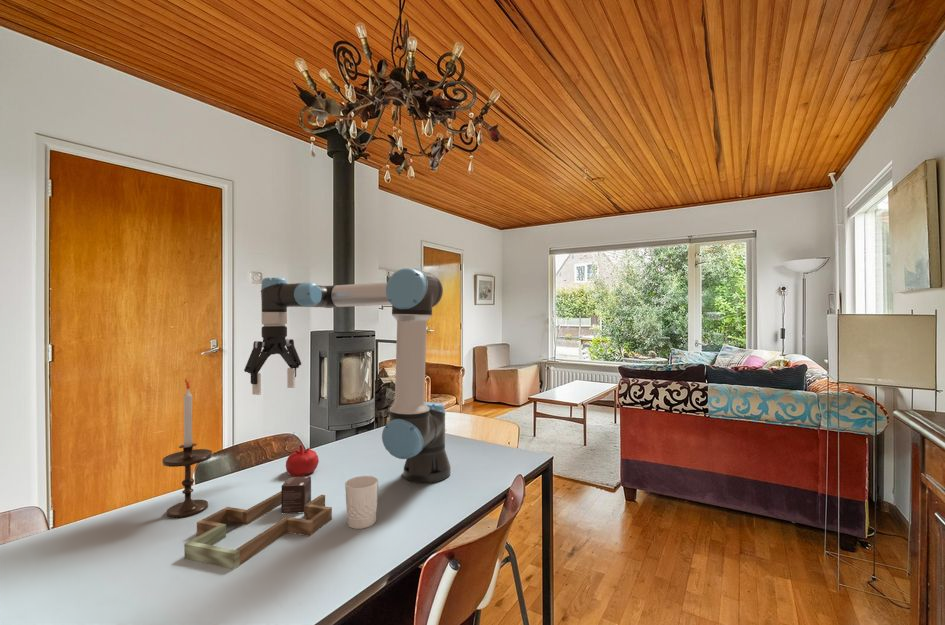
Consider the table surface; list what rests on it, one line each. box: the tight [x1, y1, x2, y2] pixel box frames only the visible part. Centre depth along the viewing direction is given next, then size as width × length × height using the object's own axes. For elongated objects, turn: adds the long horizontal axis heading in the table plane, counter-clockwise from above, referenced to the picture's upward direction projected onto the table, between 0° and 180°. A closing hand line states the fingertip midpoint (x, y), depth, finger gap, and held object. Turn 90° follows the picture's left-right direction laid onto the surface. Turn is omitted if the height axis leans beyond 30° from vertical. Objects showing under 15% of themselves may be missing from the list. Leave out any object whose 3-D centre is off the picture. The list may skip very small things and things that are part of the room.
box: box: [280, 475, 312, 515], centre depth 112 cm, size 6×6×7 cm
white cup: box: [344, 475, 379, 530], centre depth 104 cm, size 8×8×10 cm
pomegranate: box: [285, 444, 320, 477], centre depth 137 cm, size 10×10×9 cm
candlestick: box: [162, 378, 213, 519], centre depth 111 cm, size 11×11×35 cm
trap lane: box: [183, 490, 333, 570], centre depth 100 cm, size 26×29×3 cm
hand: (274, 391), depth 136 cm, fingers open, 13 cm apart
